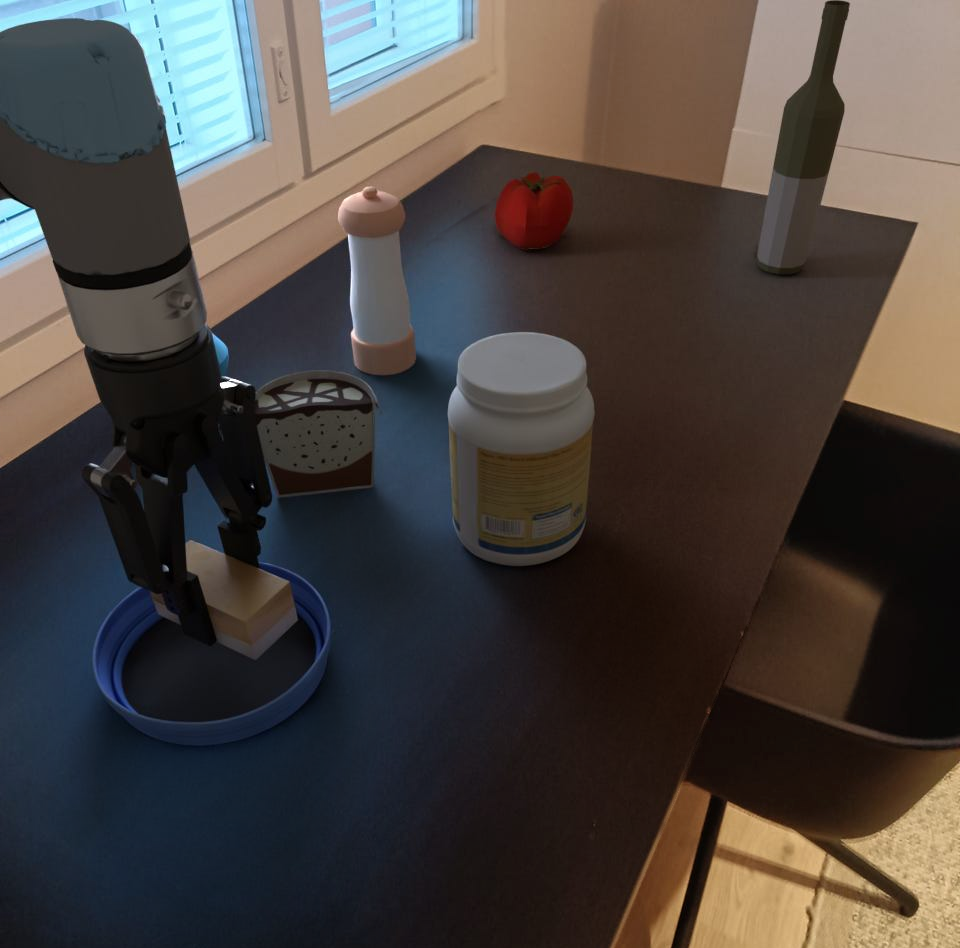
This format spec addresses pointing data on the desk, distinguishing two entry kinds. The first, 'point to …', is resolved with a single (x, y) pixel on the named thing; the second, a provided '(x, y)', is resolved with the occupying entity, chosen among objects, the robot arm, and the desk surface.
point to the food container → (317, 432)
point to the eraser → (238, 600)
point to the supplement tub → (520, 447)
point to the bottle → (804, 154)
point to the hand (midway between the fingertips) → (225, 614)
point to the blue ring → (208, 671)
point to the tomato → (534, 210)
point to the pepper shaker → (377, 283)
